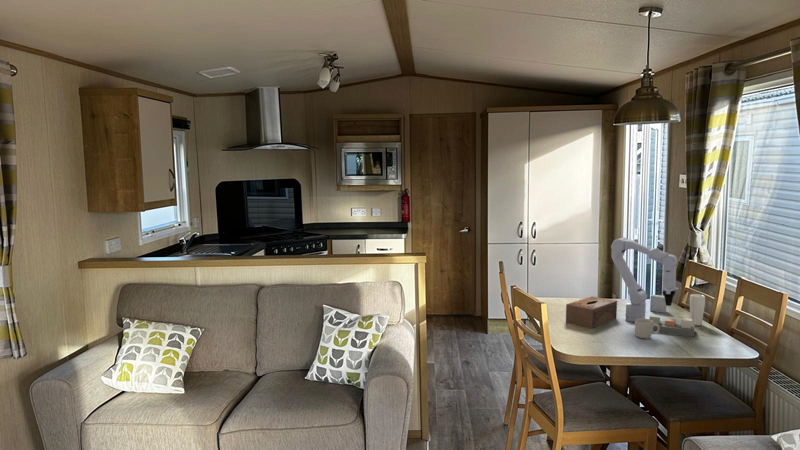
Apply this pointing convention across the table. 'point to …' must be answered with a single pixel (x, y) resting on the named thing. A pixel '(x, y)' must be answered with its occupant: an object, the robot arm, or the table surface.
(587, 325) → the tissue box cover
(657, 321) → the sage block
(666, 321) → the terracotta block
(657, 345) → the table surface
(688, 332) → the grey tray
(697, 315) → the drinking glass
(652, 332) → the cup
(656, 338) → the table surface
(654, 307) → the medicine box
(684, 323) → the white block
